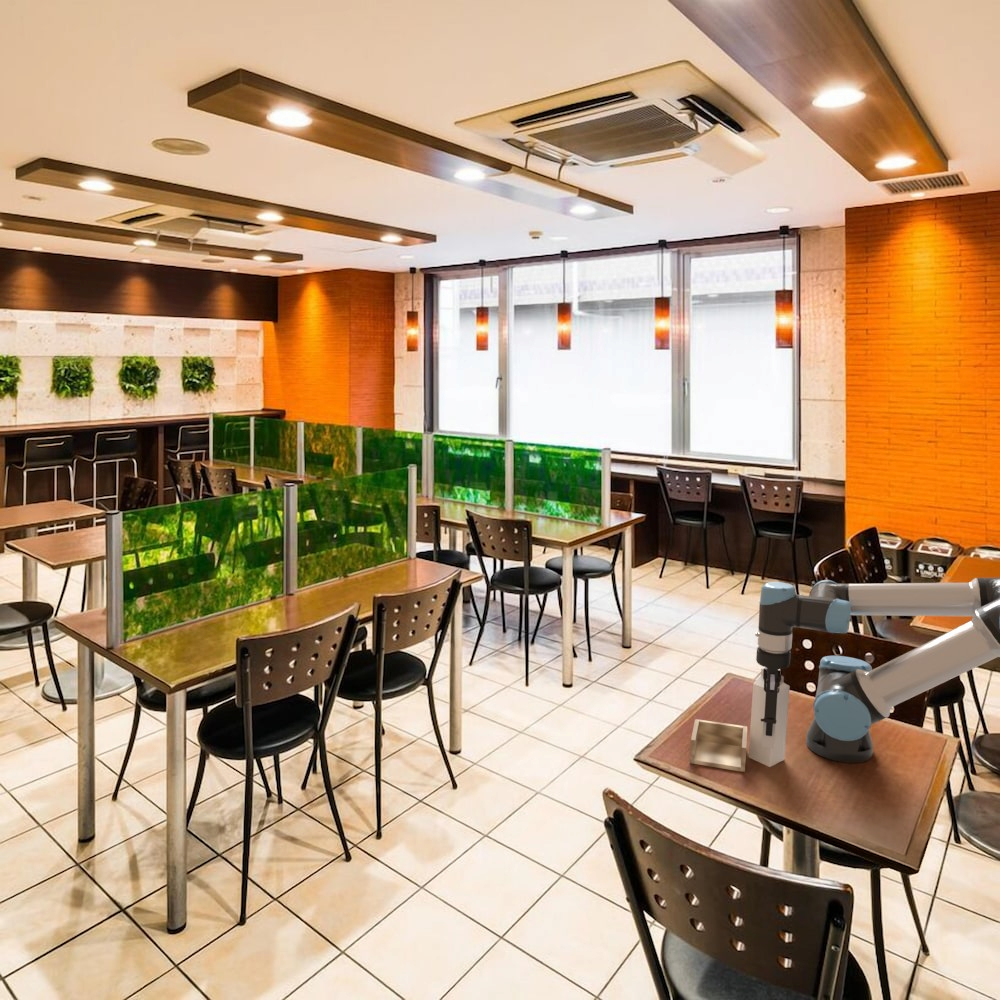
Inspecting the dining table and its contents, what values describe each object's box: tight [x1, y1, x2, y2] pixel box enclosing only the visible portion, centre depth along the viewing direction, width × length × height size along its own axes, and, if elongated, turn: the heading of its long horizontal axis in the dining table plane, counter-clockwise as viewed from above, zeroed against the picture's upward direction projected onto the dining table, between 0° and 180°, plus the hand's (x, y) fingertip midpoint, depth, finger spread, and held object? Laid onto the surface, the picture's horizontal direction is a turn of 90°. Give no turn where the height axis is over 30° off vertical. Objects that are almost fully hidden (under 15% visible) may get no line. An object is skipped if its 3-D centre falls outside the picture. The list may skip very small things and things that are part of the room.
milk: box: [748, 668, 790, 768], centre depth 185 cm, size 6×6×22 cm
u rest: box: [689, 718, 748, 773], centre depth 187 cm, size 12×12×6 cm
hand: (767, 738), depth 186 cm, fingers closed on milk, 8 cm apart
